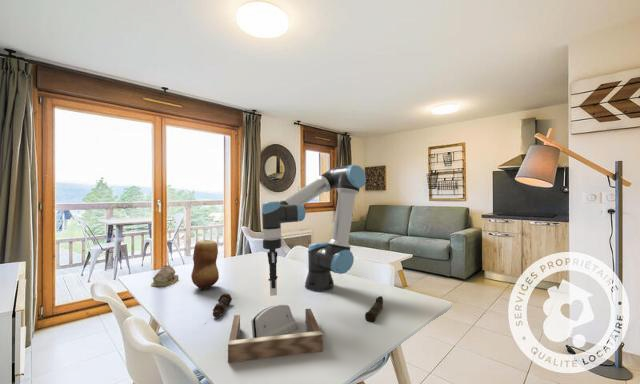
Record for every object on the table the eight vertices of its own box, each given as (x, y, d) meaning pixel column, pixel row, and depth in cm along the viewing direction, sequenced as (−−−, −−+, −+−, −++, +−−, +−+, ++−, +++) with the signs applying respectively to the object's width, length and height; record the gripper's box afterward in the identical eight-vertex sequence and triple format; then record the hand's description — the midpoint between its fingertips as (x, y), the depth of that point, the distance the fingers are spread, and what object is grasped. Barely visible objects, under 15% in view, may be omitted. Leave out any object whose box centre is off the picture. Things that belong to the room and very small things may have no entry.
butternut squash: (221, 289, 146) (221, 240, 146) (193, 294, 138) (193, 243, 139) (214, 282, 157) (214, 237, 158) (188, 287, 150) (188, 239, 150)
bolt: (214, 323, 111) (223, 307, 126) (226, 317, 111) (233, 301, 126) (206, 311, 110) (217, 296, 125) (218, 304, 111) (227, 290, 126)
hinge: (262, 346, 90) (255, 313, 93) (253, 346, 93) (247, 315, 95) (298, 327, 103) (291, 299, 105) (289, 328, 106) (283, 300, 108)
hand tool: (375, 323, 106) (375, 311, 106) (364, 321, 108) (364, 309, 108) (388, 306, 123) (388, 296, 123) (379, 305, 125) (379, 294, 125)
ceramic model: (166, 287, 150) (166, 268, 150) (146, 286, 151) (146, 267, 151) (182, 279, 164) (182, 262, 164) (164, 279, 165) (164, 261, 165)
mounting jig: (310, 321, 108) (310, 307, 108) (322, 351, 87) (322, 333, 87) (234, 329, 102) (234, 314, 102) (227, 362, 81) (227, 344, 81)
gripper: (262, 236, 123) (264, 290, 123) (263, 241, 111) (264, 301, 111) (279, 235, 125) (281, 288, 125) (282, 240, 112) (283, 299, 112)
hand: (273, 294), depth 118 cm, fingers closed
